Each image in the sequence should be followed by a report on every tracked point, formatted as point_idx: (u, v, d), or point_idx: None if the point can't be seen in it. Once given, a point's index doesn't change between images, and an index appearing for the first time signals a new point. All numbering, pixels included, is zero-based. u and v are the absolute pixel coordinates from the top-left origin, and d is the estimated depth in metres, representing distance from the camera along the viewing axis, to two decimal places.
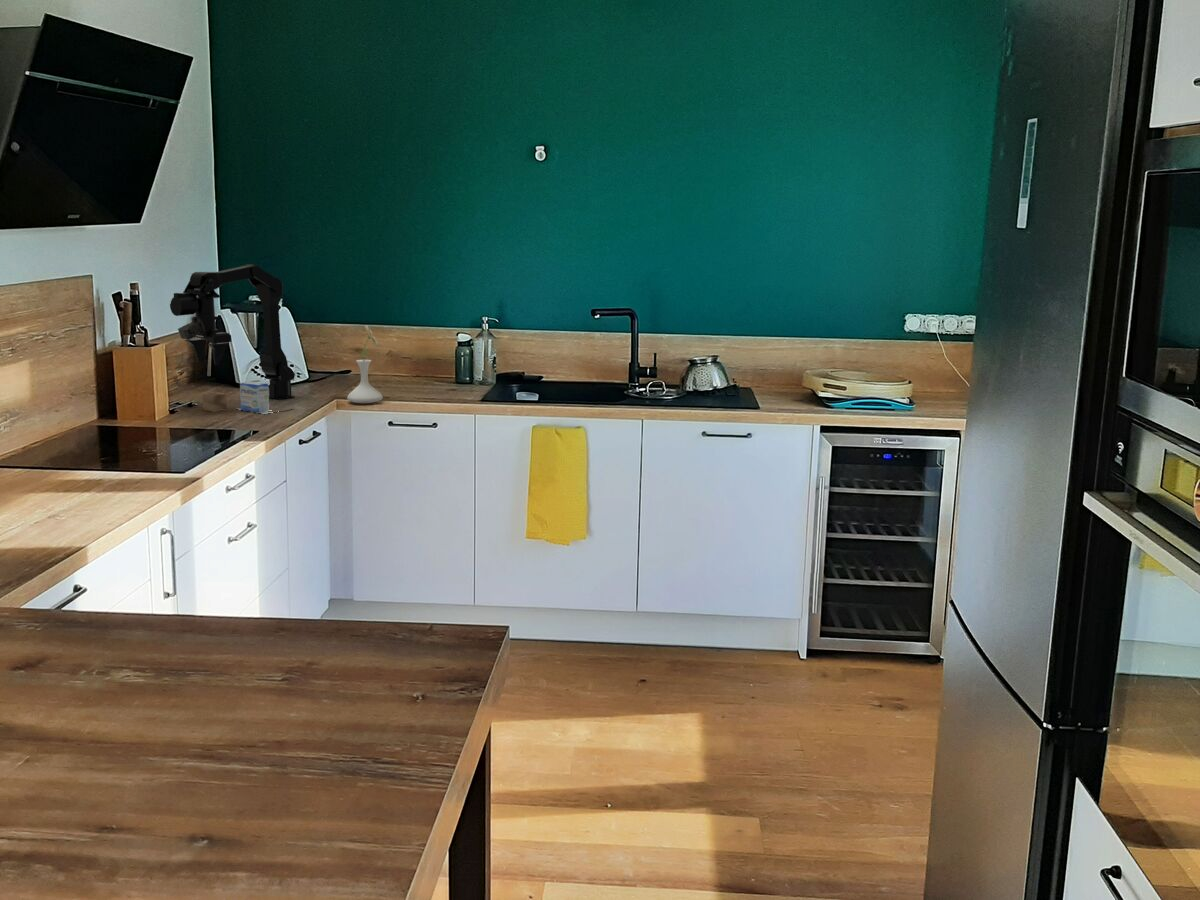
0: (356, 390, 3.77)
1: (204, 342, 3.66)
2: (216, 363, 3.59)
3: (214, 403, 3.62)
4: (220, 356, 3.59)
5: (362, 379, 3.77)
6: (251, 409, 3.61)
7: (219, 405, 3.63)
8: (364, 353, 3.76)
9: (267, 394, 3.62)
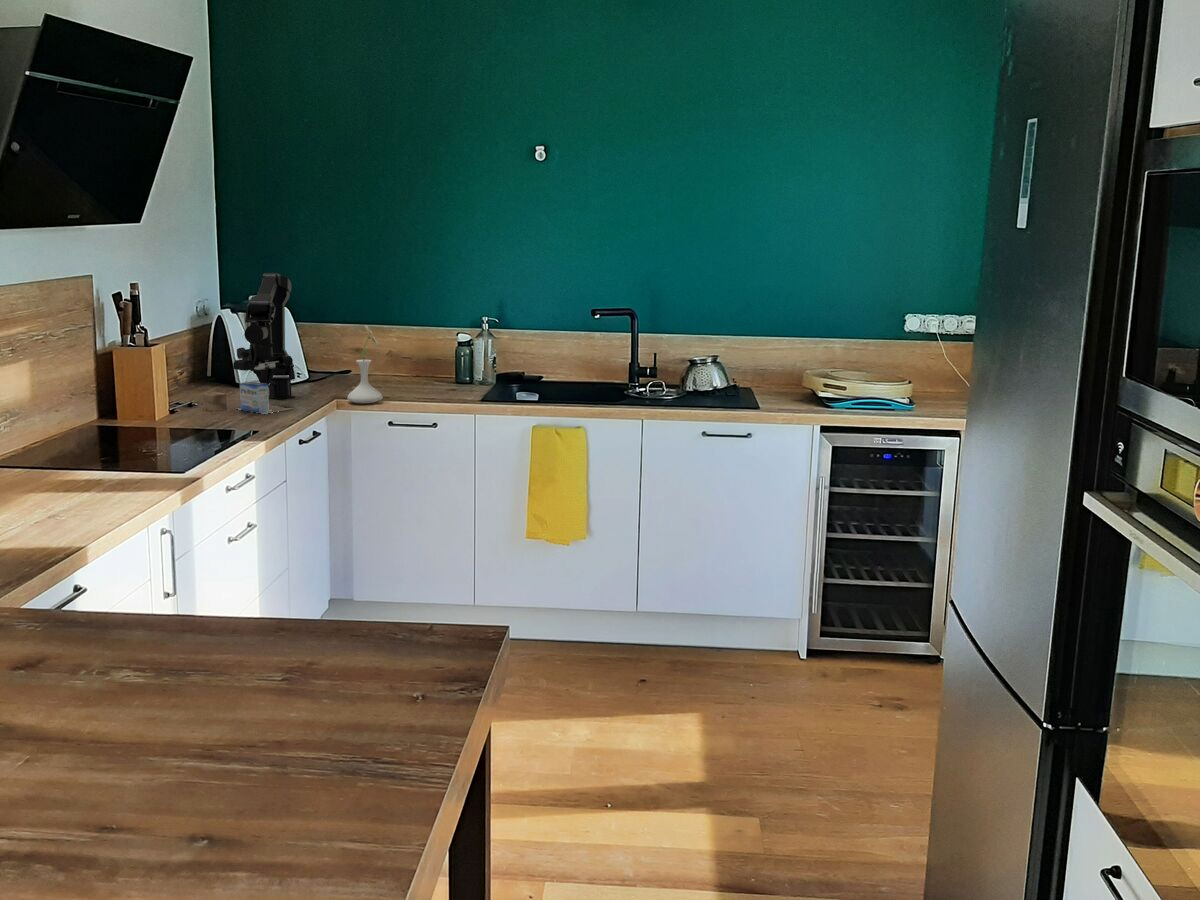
0: (356, 390, 3.77)
1: (269, 371, 3.63)
2: None
3: (214, 403, 3.62)
4: (263, 382, 3.63)
5: (362, 379, 3.77)
6: (251, 409, 3.61)
7: (219, 405, 3.63)
8: (364, 353, 3.76)
9: (267, 394, 3.62)
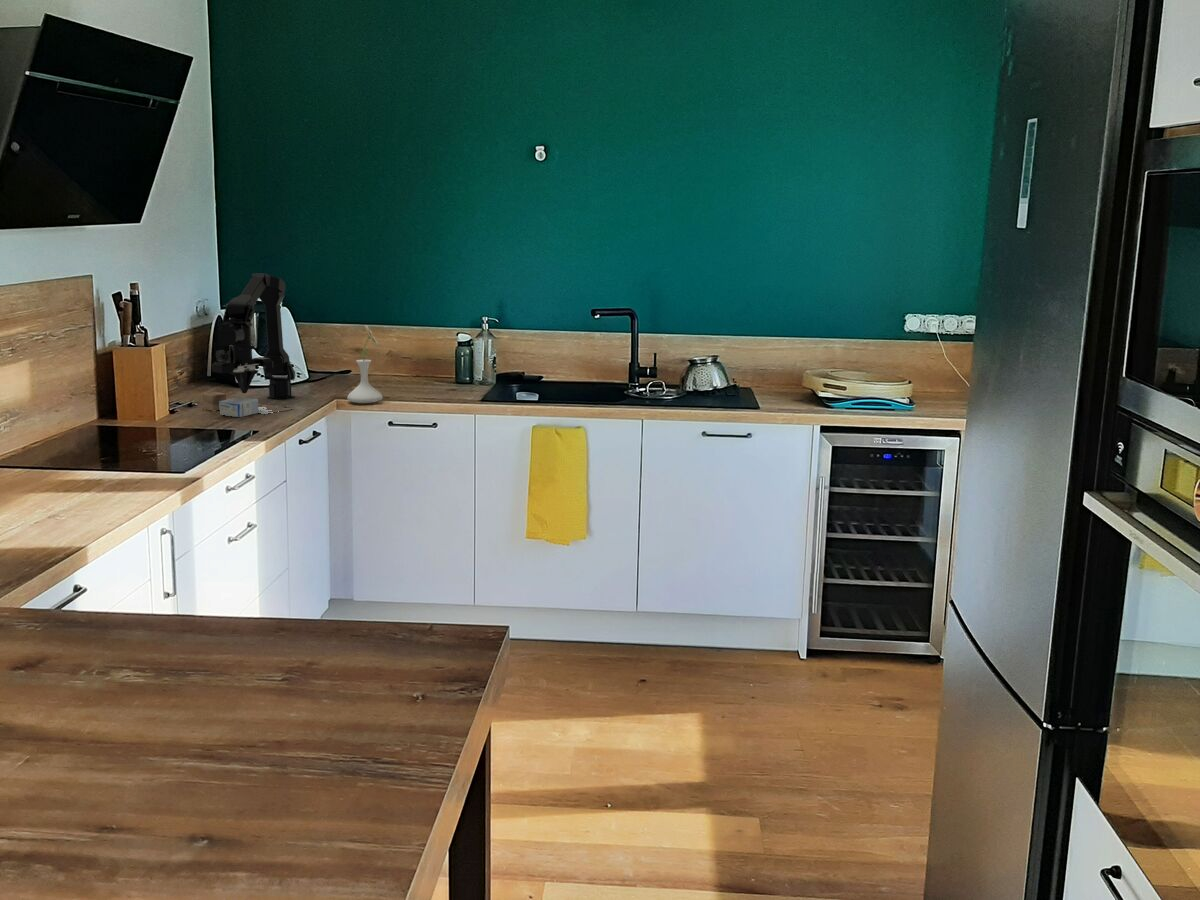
0: (356, 390, 3.77)
1: (249, 374, 3.57)
2: (242, 391, 3.58)
3: (214, 403, 3.62)
4: (242, 385, 3.57)
5: (362, 379, 3.77)
6: None
7: None
8: (364, 353, 3.76)
9: (246, 403, 3.54)
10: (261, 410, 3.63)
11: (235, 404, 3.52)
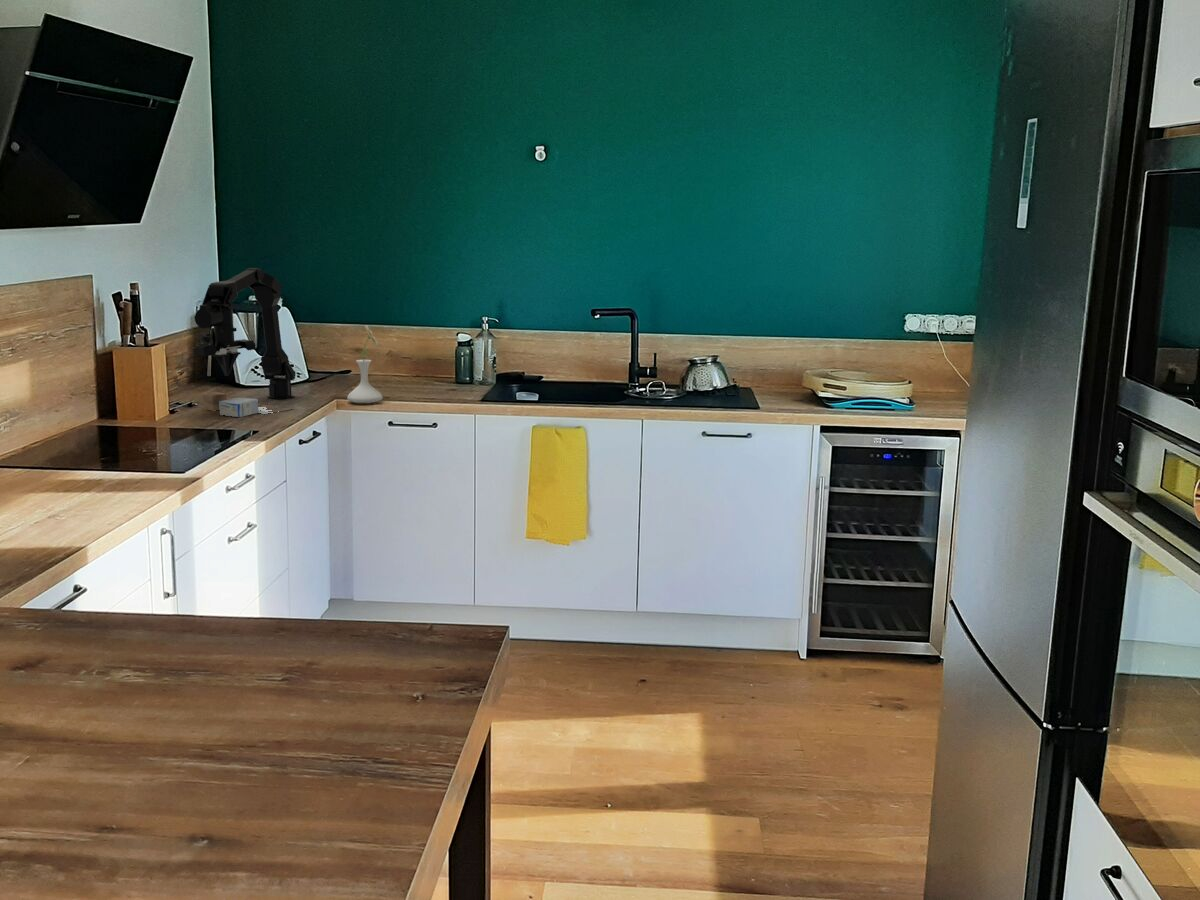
0: (356, 390, 3.77)
1: (231, 356, 3.55)
2: (224, 374, 3.57)
3: (214, 403, 3.62)
4: (225, 367, 3.55)
5: (362, 379, 3.77)
6: None
7: None
8: (364, 353, 3.76)
9: (246, 403, 3.54)
10: (261, 410, 3.63)
11: (235, 404, 3.52)
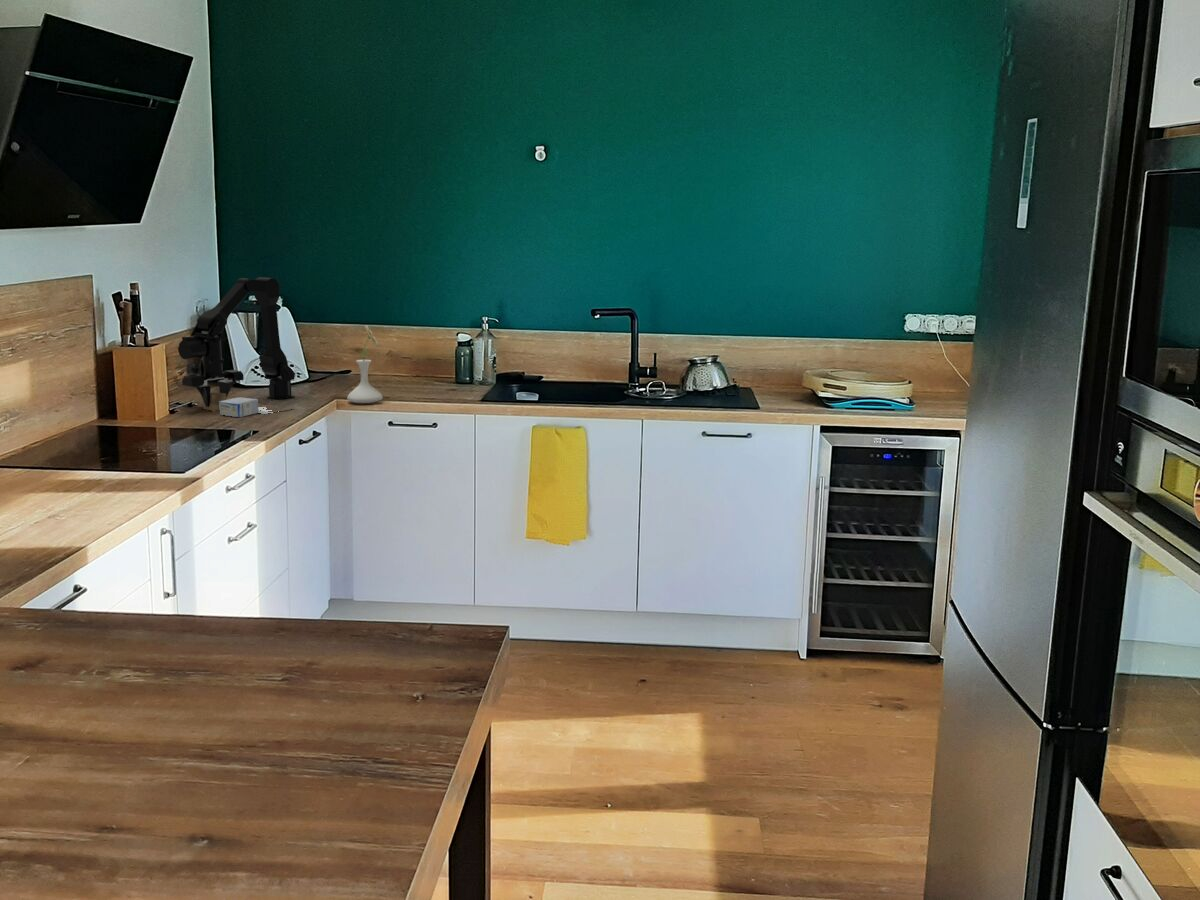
0: (356, 390, 3.77)
1: (226, 386, 3.65)
2: (206, 405, 3.63)
3: (214, 403, 3.62)
4: (206, 398, 3.61)
5: (362, 379, 3.77)
6: None
7: None
8: (364, 353, 3.76)
9: (246, 403, 3.54)
10: (261, 410, 3.63)
11: (235, 404, 3.52)
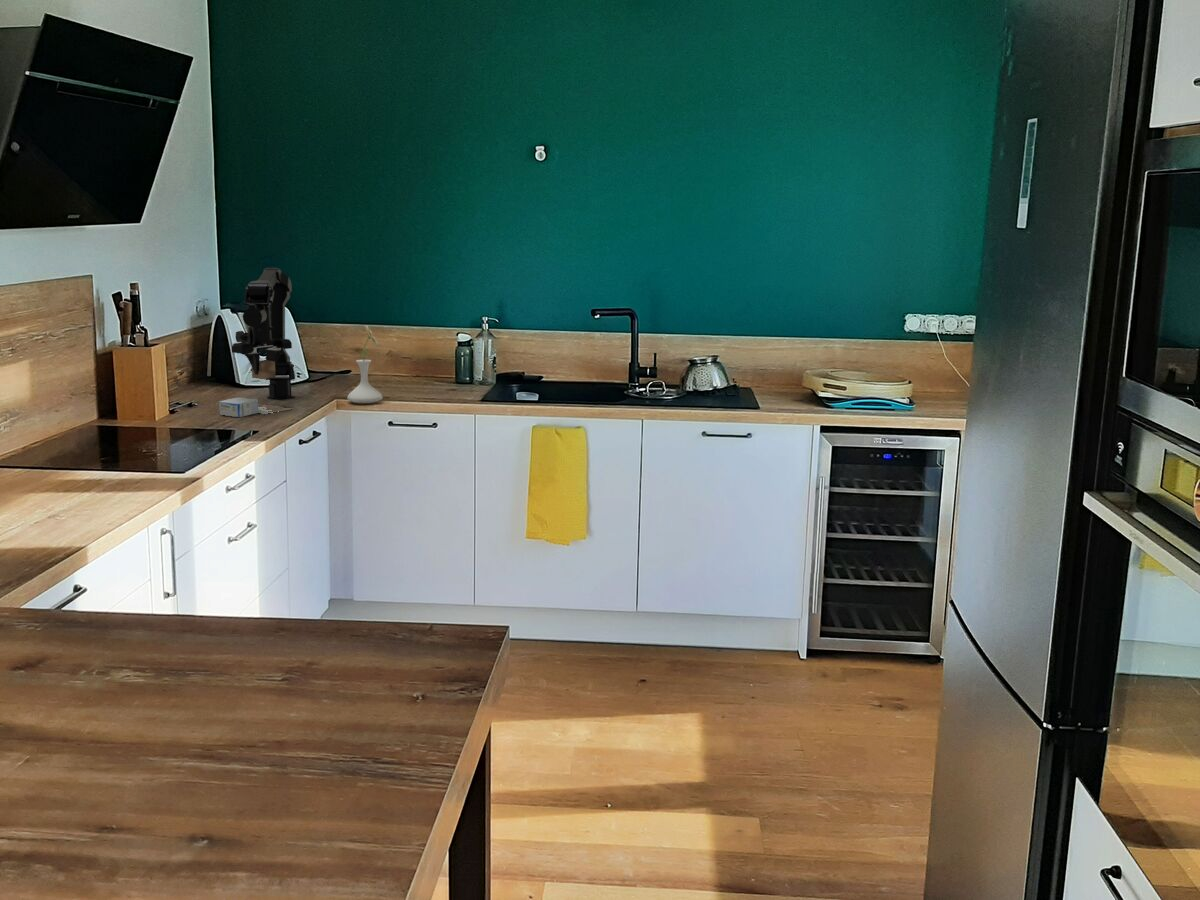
0: (356, 390, 3.77)
1: (275, 354, 3.64)
2: (254, 372, 3.62)
3: (263, 370, 3.61)
4: (255, 366, 3.60)
5: (362, 379, 3.77)
6: None
7: (268, 373, 3.62)
8: (364, 353, 3.76)
9: (246, 403, 3.54)
10: (261, 410, 3.63)
11: (235, 404, 3.52)
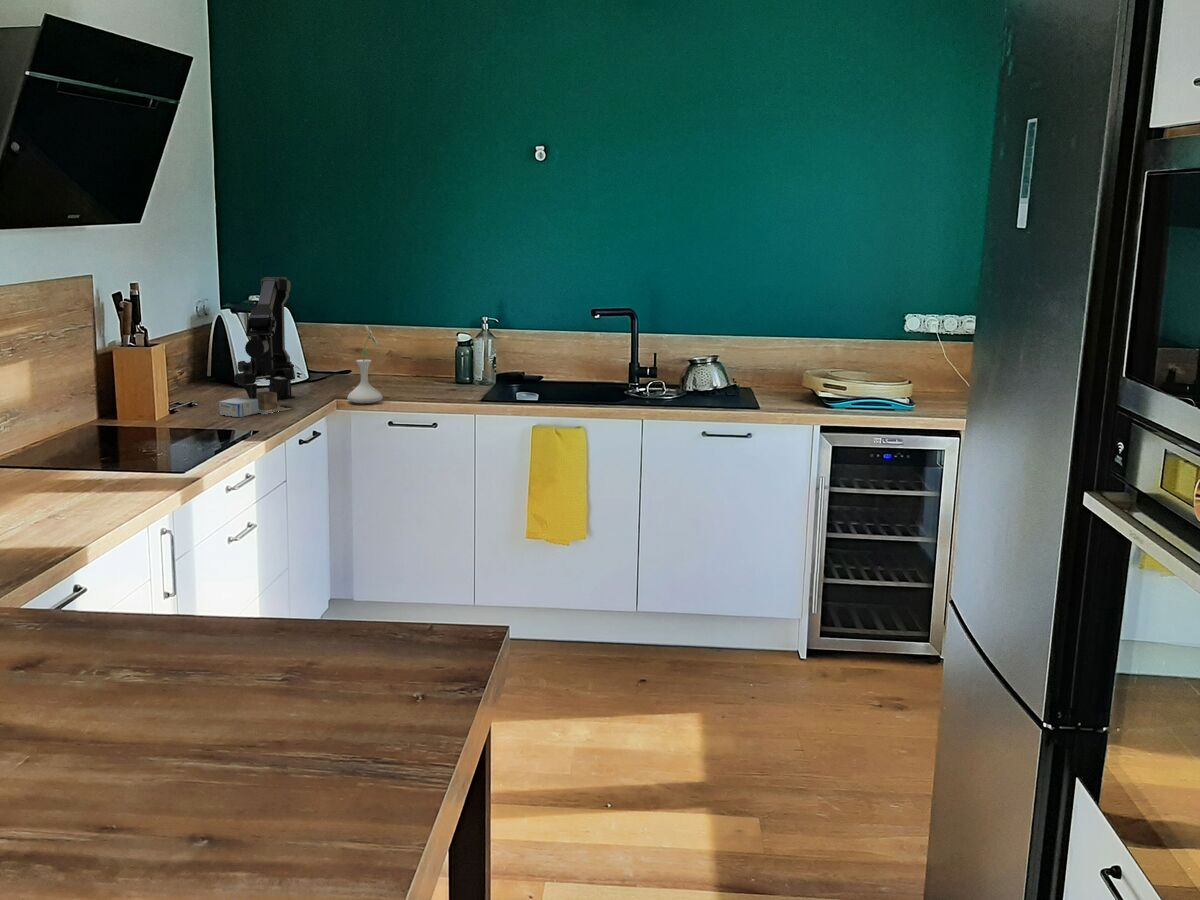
0: (356, 390, 3.77)
1: (281, 383, 3.67)
2: None
3: (265, 402, 3.63)
4: (252, 397, 3.60)
5: (362, 379, 3.77)
6: None
7: (270, 404, 3.64)
8: (364, 353, 3.76)
9: (246, 403, 3.54)
10: (261, 410, 3.63)
11: (235, 404, 3.52)
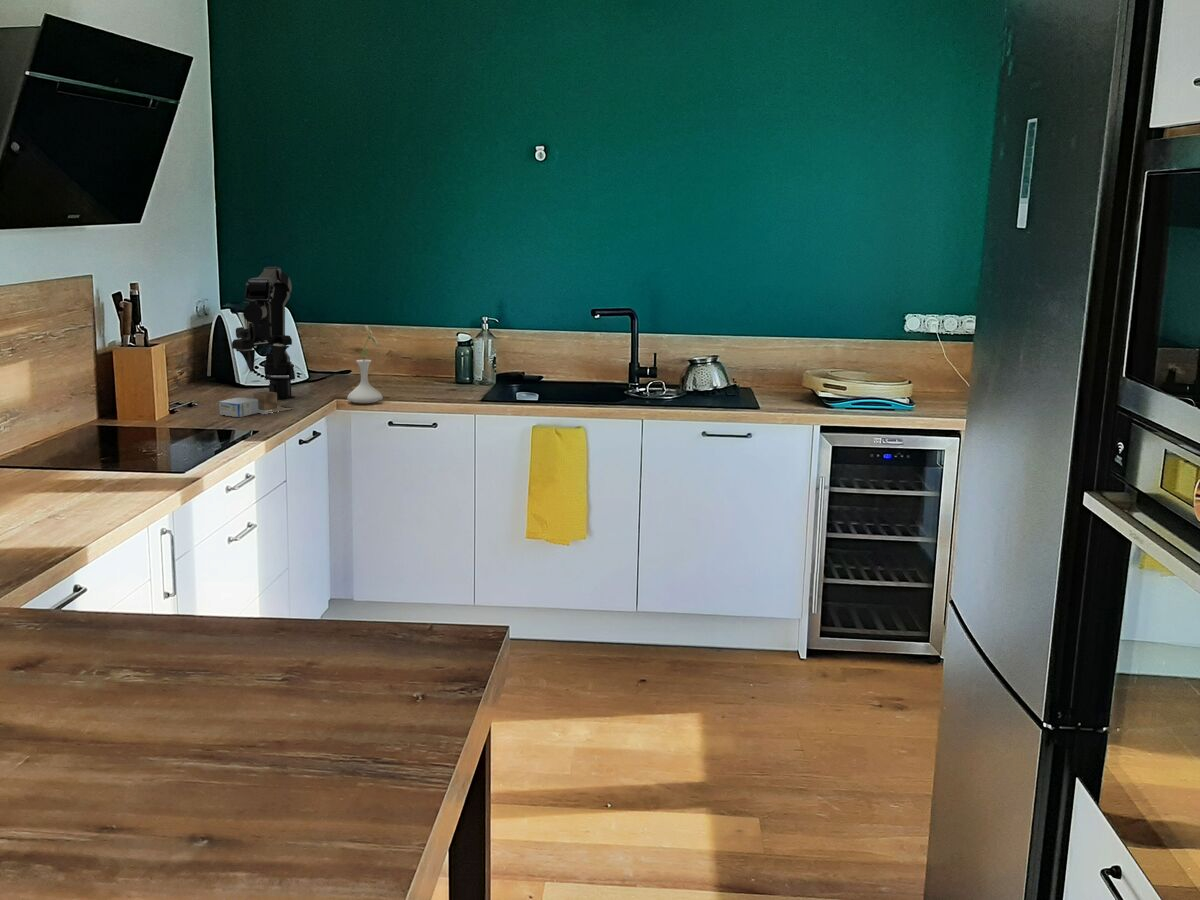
0: (356, 390, 3.77)
1: (280, 349, 3.65)
2: (250, 369, 3.60)
3: (265, 402, 3.63)
4: (250, 363, 3.58)
5: (362, 379, 3.77)
6: None
7: (270, 404, 3.64)
8: (364, 353, 3.76)
9: (246, 403, 3.54)
10: (261, 410, 3.63)
11: (235, 404, 3.52)
